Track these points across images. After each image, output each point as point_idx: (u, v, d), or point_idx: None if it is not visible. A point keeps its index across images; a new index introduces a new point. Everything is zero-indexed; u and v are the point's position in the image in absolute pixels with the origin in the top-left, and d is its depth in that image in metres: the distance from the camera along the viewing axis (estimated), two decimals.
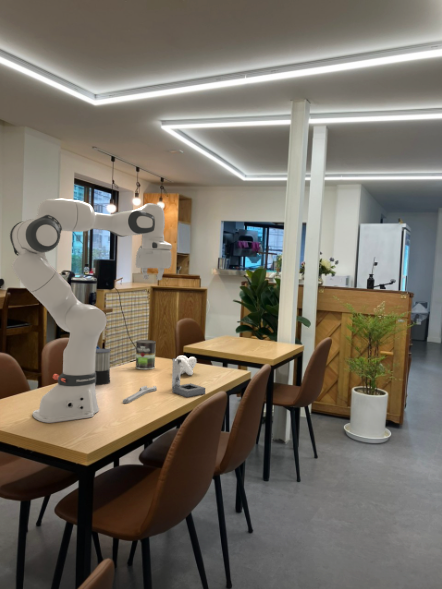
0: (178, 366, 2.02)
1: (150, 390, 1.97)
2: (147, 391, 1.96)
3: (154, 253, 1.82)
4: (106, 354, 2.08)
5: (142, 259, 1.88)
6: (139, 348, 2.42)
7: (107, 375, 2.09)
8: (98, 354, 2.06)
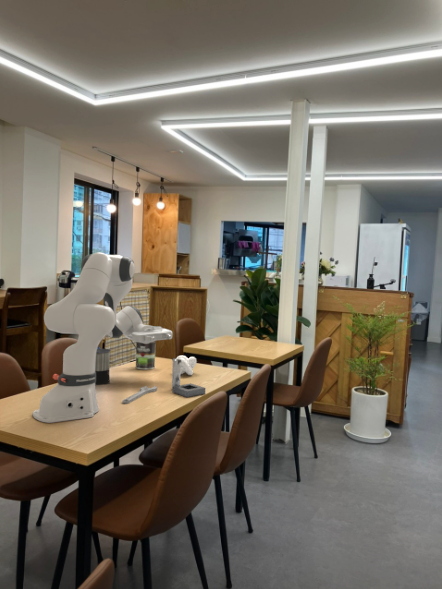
0: (178, 366, 2.02)
1: (150, 390, 1.97)
2: (147, 391, 1.95)
3: (155, 330, 2.22)
4: (106, 354, 2.08)
5: None
6: (139, 348, 2.42)
7: (107, 375, 2.09)
8: (98, 354, 2.06)
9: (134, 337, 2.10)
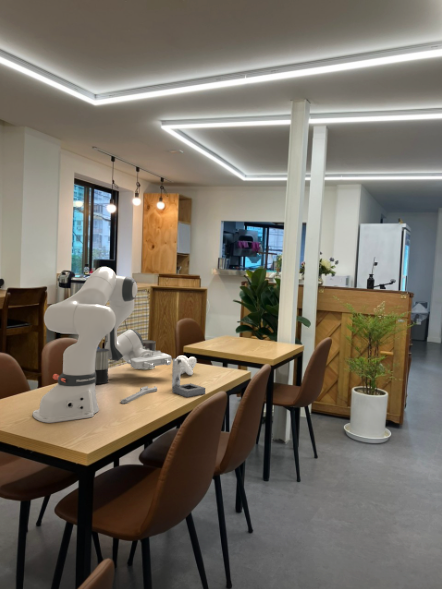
0: (178, 366, 2.02)
1: (150, 391, 1.96)
2: (147, 392, 1.95)
3: (154, 355, 2.23)
4: (104, 353, 2.08)
5: (142, 358, 2.16)
6: None
7: (105, 374, 2.09)
8: (96, 353, 2.07)
9: (133, 364, 2.12)
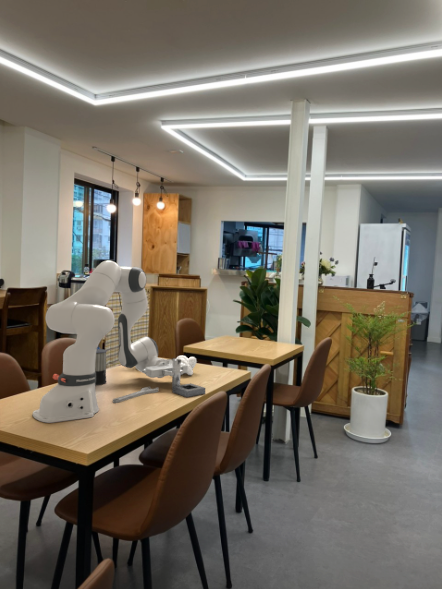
0: (178, 366, 2.02)
1: (150, 391, 1.95)
2: (146, 392, 1.94)
3: (170, 364, 2.13)
4: (102, 355, 2.07)
5: (158, 367, 2.06)
6: None
7: (103, 376, 2.08)
8: None
9: (149, 372, 2.02)
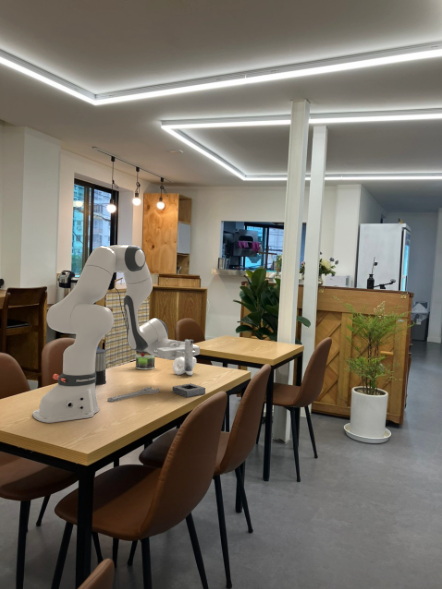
0: (191, 347, 1.96)
1: (149, 392, 1.95)
2: (145, 392, 1.94)
3: (181, 346, 2.06)
4: (102, 355, 2.07)
5: (170, 348, 1.99)
6: None
7: (103, 376, 2.08)
8: None
9: (160, 353, 1.95)
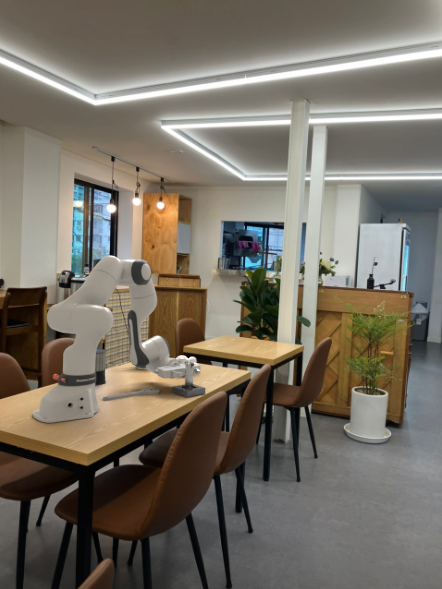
0: (191, 370, 1.96)
1: (148, 392, 1.94)
2: (144, 393, 1.93)
3: (182, 364, 2.06)
4: (101, 355, 2.07)
5: (170, 367, 1.99)
6: None
7: (102, 376, 2.08)
8: None
9: (161, 373, 1.95)
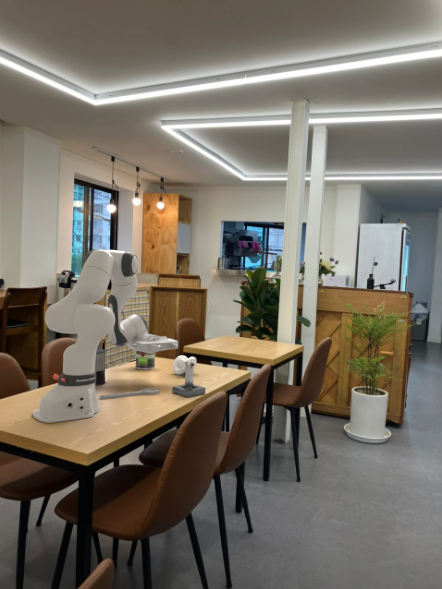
0: (191, 370, 1.96)
1: (146, 393, 1.93)
2: (142, 393, 1.93)
3: (160, 340, 2.15)
4: (101, 355, 2.07)
5: None
6: None
7: (102, 376, 2.08)
8: None
9: (139, 346, 2.03)
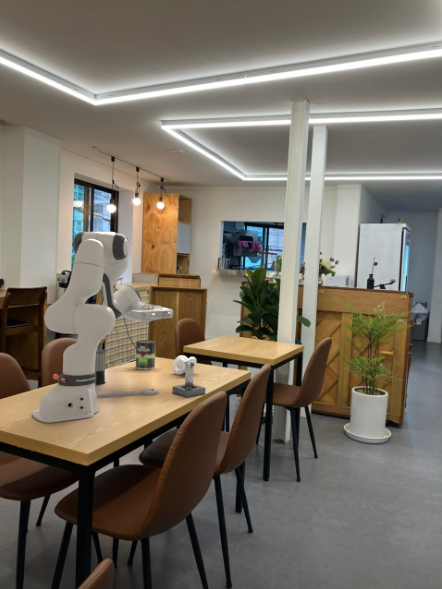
0: (191, 370, 1.96)
1: (145, 393, 1.92)
2: (141, 393, 1.92)
3: (155, 309, 2.14)
4: (101, 355, 2.07)
5: (143, 310, 2.07)
6: (139, 348, 2.42)
7: (102, 376, 2.08)
8: None
9: (133, 314, 2.03)
